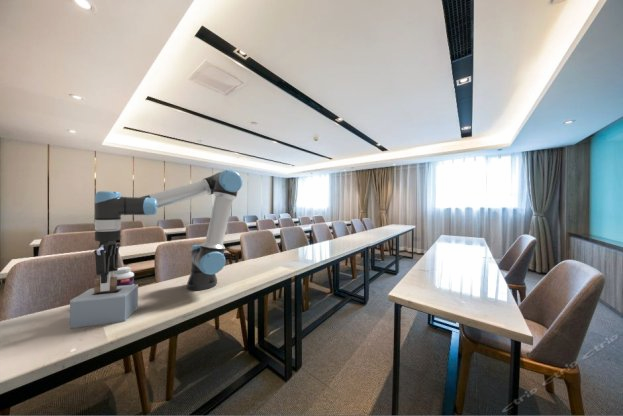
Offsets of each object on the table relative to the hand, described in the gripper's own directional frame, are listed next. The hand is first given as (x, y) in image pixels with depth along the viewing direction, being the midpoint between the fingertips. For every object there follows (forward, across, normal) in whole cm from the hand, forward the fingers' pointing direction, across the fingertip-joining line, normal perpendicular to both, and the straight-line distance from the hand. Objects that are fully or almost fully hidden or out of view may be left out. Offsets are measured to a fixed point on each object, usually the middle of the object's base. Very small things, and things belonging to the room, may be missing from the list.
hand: (107, 289), depth 85 cm
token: (+1, 0, -1) cm, 1 cm away
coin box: (+11, 0, 0) cm, 11 cm away
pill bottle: (+11, -18, -2) cm, 21 cm away
